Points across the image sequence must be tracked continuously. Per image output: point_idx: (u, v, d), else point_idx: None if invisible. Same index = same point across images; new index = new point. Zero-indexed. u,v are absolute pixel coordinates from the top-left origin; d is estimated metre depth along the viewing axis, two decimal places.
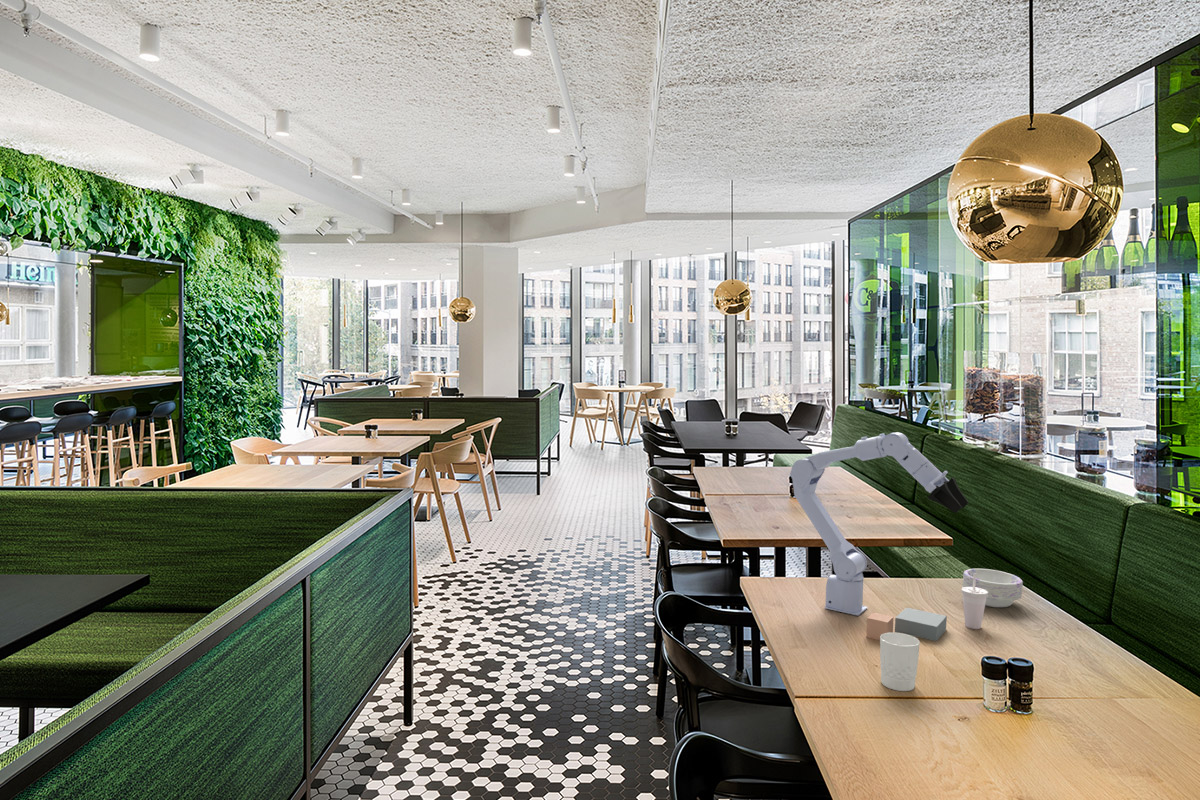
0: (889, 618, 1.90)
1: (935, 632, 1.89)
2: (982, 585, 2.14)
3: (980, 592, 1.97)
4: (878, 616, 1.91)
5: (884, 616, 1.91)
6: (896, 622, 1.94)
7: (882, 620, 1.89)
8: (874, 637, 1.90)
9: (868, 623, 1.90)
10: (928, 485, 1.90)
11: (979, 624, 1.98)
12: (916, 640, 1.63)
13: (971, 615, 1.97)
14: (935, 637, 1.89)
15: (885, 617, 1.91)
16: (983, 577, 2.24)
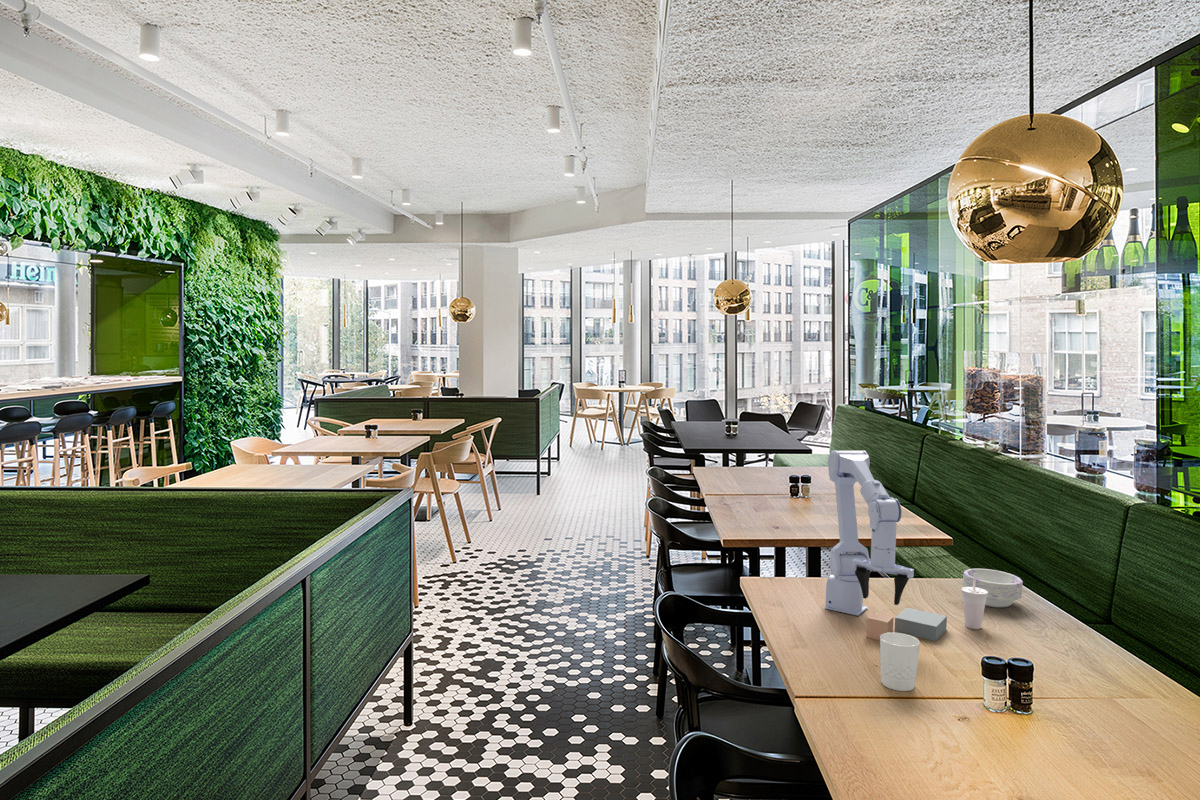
0: (889, 618, 1.90)
1: (935, 632, 1.89)
2: (982, 585, 2.14)
3: (980, 592, 1.97)
4: (878, 616, 1.91)
5: (884, 616, 1.91)
6: (896, 622, 1.95)
7: (882, 620, 1.89)
8: (874, 637, 1.90)
9: (868, 623, 1.90)
10: None
11: (979, 624, 1.98)
12: (916, 640, 1.63)
13: (971, 615, 1.97)
14: (935, 637, 1.89)
15: (885, 617, 1.91)
16: (983, 577, 2.24)
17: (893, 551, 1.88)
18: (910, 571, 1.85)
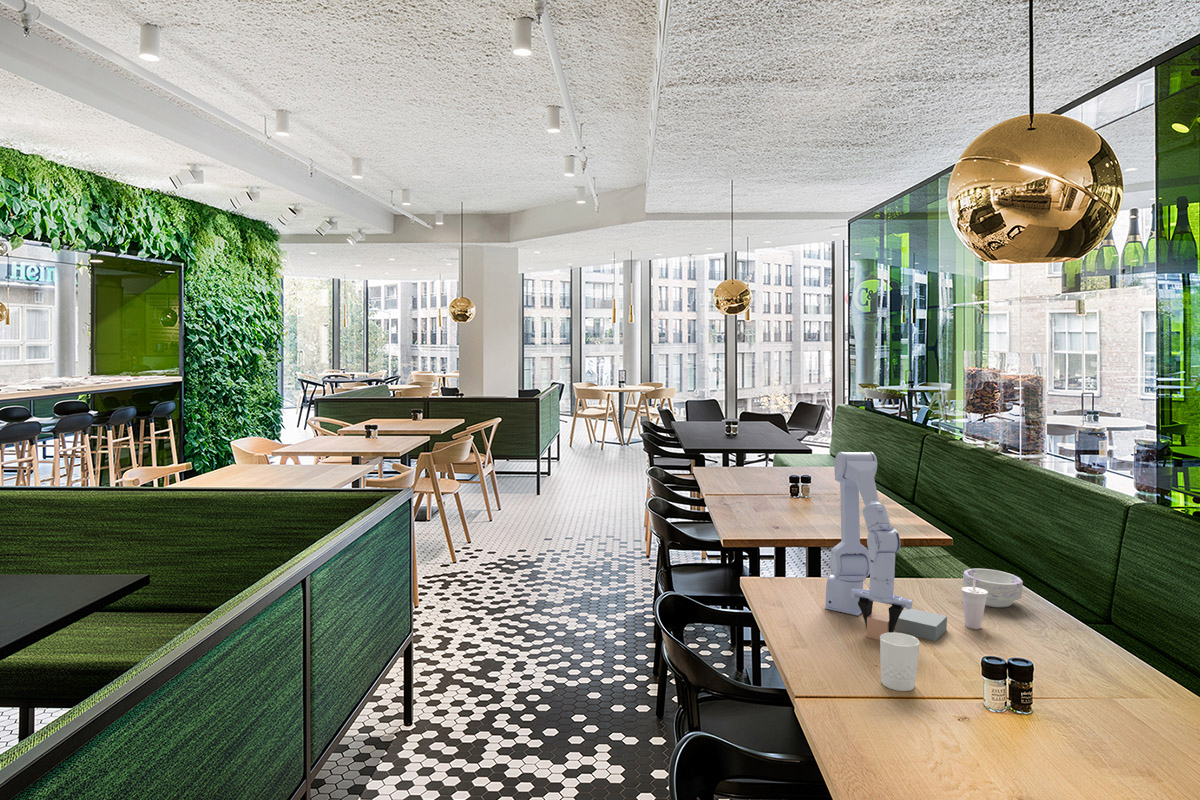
0: None
1: (934, 632, 1.89)
2: (982, 585, 2.14)
3: (980, 592, 1.97)
4: (878, 616, 1.91)
5: (884, 616, 1.91)
6: None
7: (882, 620, 1.89)
8: (874, 637, 1.90)
9: (868, 623, 1.90)
10: None
11: (979, 624, 1.98)
12: (916, 640, 1.63)
13: (971, 615, 1.97)
14: (934, 637, 1.89)
15: (885, 617, 1.91)
16: (983, 577, 2.24)
17: (892, 582, 1.88)
18: (909, 602, 1.86)
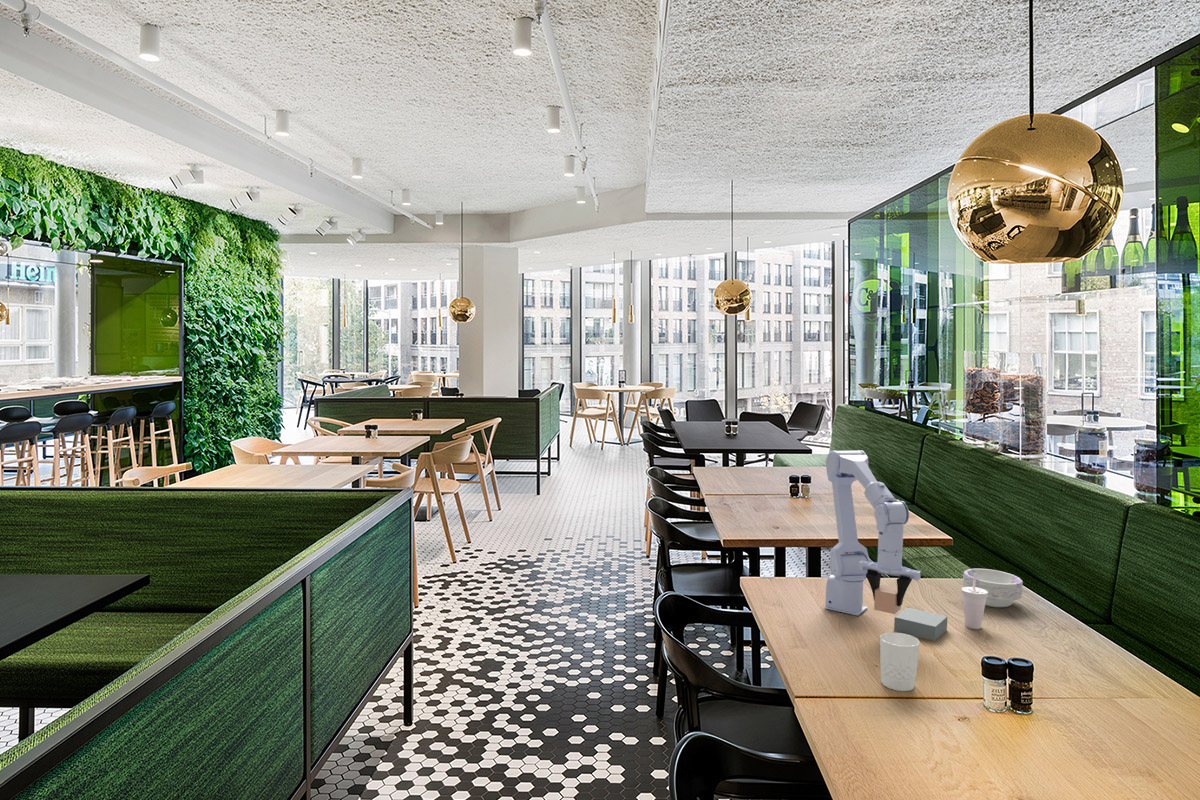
0: None
1: (934, 632, 1.89)
2: (982, 585, 2.14)
3: (980, 592, 1.97)
4: (886, 589, 1.91)
5: (892, 589, 1.92)
6: (895, 622, 1.95)
7: (890, 592, 1.89)
8: (882, 609, 1.90)
9: (876, 595, 1.91)
10: None
11: (979, 624, 1.98)
12: (916, 640, 1.63)
13: (971, 615, 1.97)
14: (934, 637, 1.89)
15: (893, 590, 1.91)
16: (983, 577, 2.24)
17: (900, 553, 1.88)
18: (917, 573, 1.86)
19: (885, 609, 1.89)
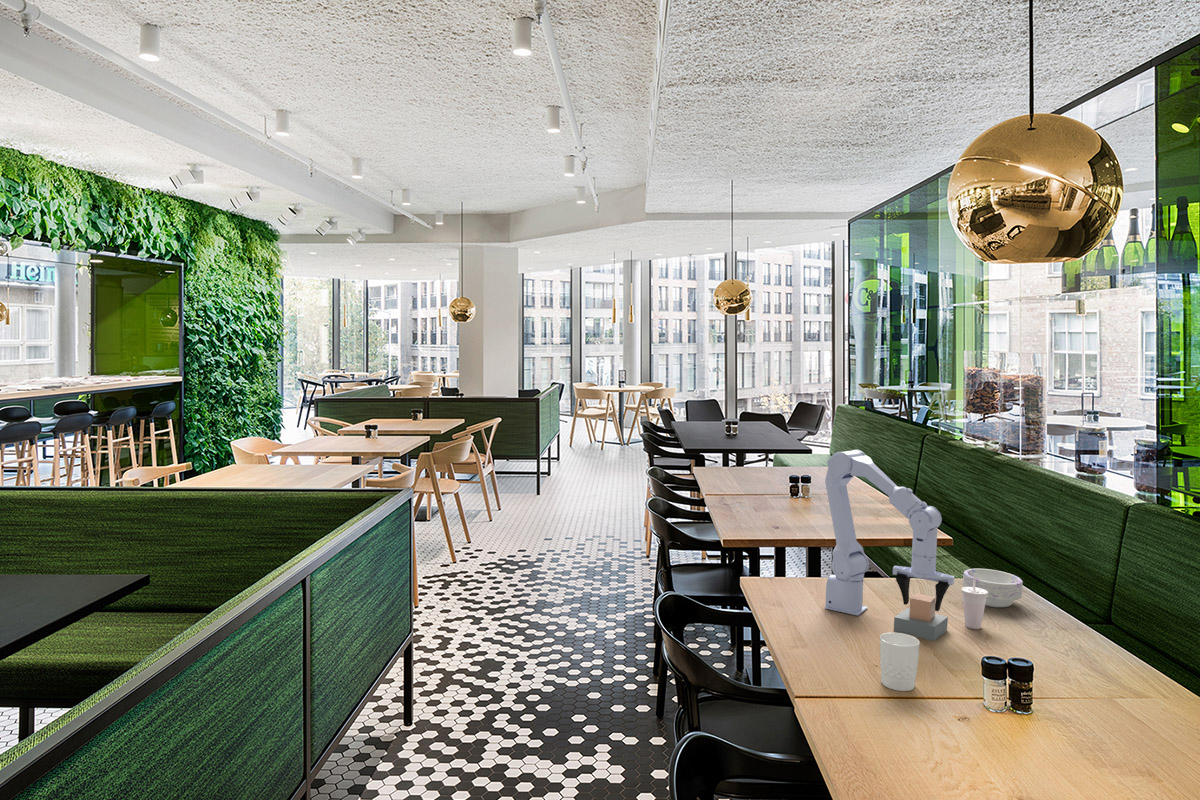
0: (931, 598, 1.95)
1: (933, 632, 1.89)
2: (982, 585, 2.14)
3: (980, 592, 1.97)
4: (921, 597, 1.96)
5: (926, 597, 1.96)
6: (895, 621, 1.95)
7: (925, 600, 1.93)
8: (917, 617, 1.94)
9: (911, 603, 1.95)
10: None
11: (979, 624, 1.98)
12: (916, 640, 1.63)
13: (971, 615, 1.97)
14: (933, 637, 1.89)
15: (927, 597, 1.95)
16: (983, 577, 2.24)
17: (934, 558, 1.92)
18: (951, 578, 1.90)
19: (920, 617, 1.93)
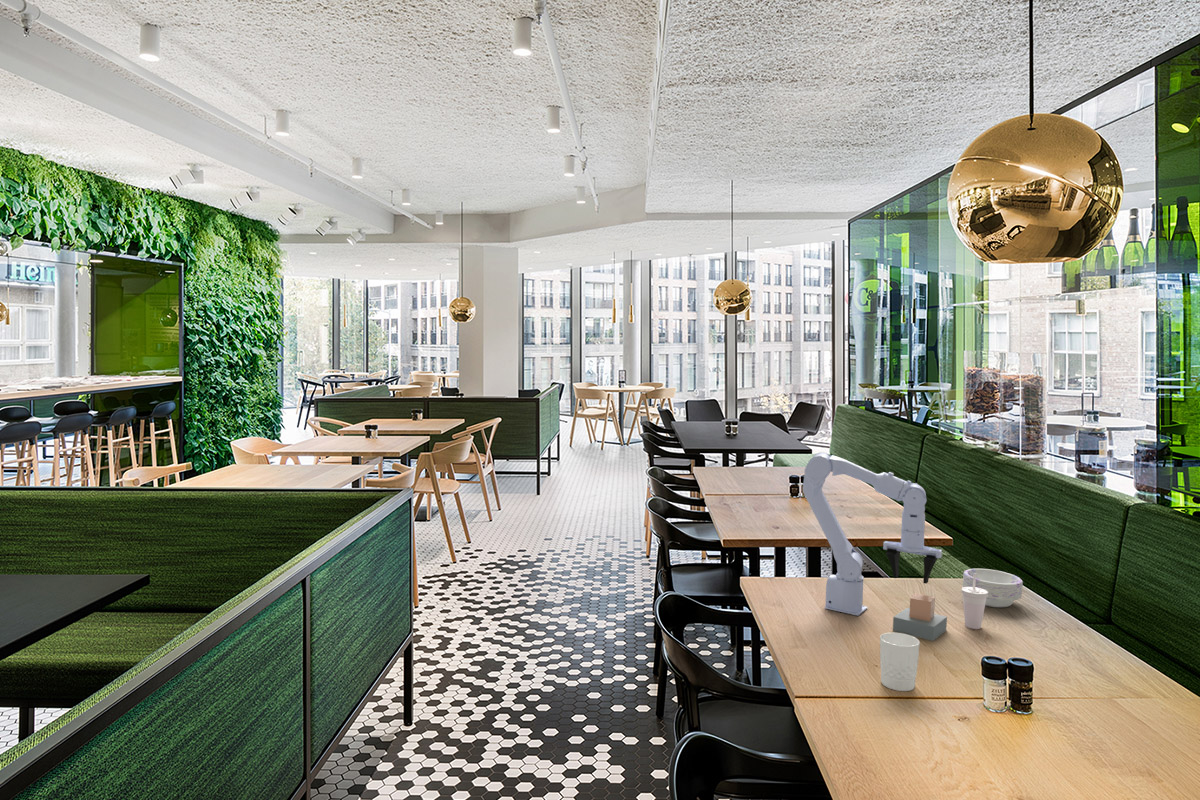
0: (931, 598, 1.95)
1: (932, 632, 1.89)
2: (982, 585, 2.14)
3: (980, 592, 1.97)
4: (921, 597, 1.96)
5: (926, 597, 1.96)
6: (894, 621, 1.95)
7: (925, 600, 1.93)
8: (917, 617, 1.94)
9: (911, 603, 1.95)
10: None
11: (979, 624, 1.98)
12: (916, 640, 1.63)
13: (971, 615, 1.97)
14: (932, 637, 1.89)
15: (927, 597, 1.95)
16: (983, 577, 2.24)
17: (922, 533, 2.01)
18: (938, 552, 1.99)
19: (920, 617, 1.94)
